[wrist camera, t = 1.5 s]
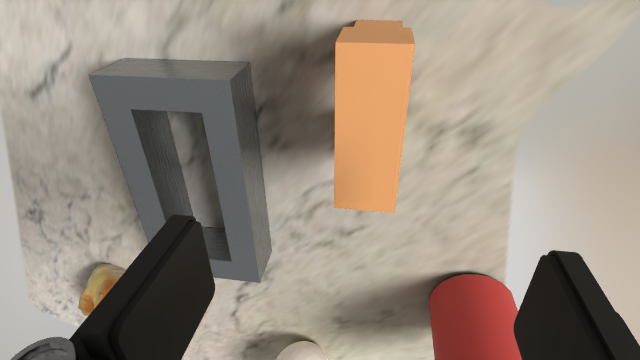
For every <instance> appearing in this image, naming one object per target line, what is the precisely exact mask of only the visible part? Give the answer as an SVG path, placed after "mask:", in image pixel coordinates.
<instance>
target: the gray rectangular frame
mask: <svg viewBox="0 0 640 360" xmlns="http://www.w3.org/2000/svg"><path fill="white" fill-rule="evenodd" d="M89 78H90V81H91V83H92V86H93V89H94V92H95V94H96V97H97V100H98V103H99V106H100V108H101V111H102V114H103V117H104V120H105V122H106V125H107V128H108V131H109V134H110V136H111V139H112V142H113V145H114V148H115V150H116V153H117V156H118V159H119V162H120V164H121V167H122V170H123V173H124V176H125V178H126V181H127V184H128V187H129V189H130V192H131V195H132V198H133V201H134V203H135V206H136V209H137V212H138V215H139V217H140V220H141V223H142V226H143V229H144V231H145V234H146V237H147V240H148V243H149V242H150V241H151V240H152V238H153V237H154V236H155V235H156V234H157V232H158V231H159V230H160V229H161V228H162V226H163V225H164V224H165V223H166V221H167V220H168V219H169V218H170V217H171V216H172V215H174V214H176V215H187V216H193V214H192V210H191V206H190V202H189V198H188V194H187V190H186V186H185V182H184V178H183V175H182V171H181V167H180V163H179V159H178V155H177V151H176V147H175V143H174V139H173V136H172V132H171V128H170V124H169V120H168V116H167V112H166V111H174V112H194V113H202V117H203V122H204V126H205V131H206V136H207V141H208V146H209V151H210V156H211V161H212V166H213V171H214V176H215V181H216V186H217V191H218V196H219V201H220V206H221V211H222V216H223V221H224V226H225V229H218V228H207V227H202V231H203V235H204V239H205V244H206V248H207V253H208V257H209V261H210V266H211V270H212V274H213V277H215V278H223V279H232V280H240V281H249V282H258V283H260V281H261V279H262V276H263V273H264V271H265V268H266V266H267V263H268V260H269V258H270V255H271V252H272V248H271V240H270V231H269V222H268V214H267V205H266V197H265V188H264V179H263V171H262V162H261V154H260V145H259V137H258V128H257V119H256V111H255V102H254V94H253V85H252V77H251V68H250V62H227V61H194V60H161V59H129V58H124V59H122V60H120V61H118V62H116V63H113V64H111V65H109V66H107V67H105V68H102V69H100V70H98V71H96V72H94V73H91V74H89Z"/></svg>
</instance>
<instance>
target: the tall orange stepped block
mask: <svg viewBox="0 0 640 360" xmlns="http://www.w3.org/2000/svg"><path fill="white" fill-rule="evenodd" d="M414 49H415V42H414V37H413V33H412V28H403V26H402V21H370V20H356V22H355V25H354V27H343V29H342V31H341V33H340V35H339V37H338V38H337V40H336V42H335V170H334V208H344V209H356V210H368V211H380V212H392V213H395V206H396V198H397V190H398V181H399V173H400V165H401V157H402V148H403V140H404V132H405V123H406V115H407V107H408V99H409V90H410V82H411V74H412V65H413V57H414Z"/></svg>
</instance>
